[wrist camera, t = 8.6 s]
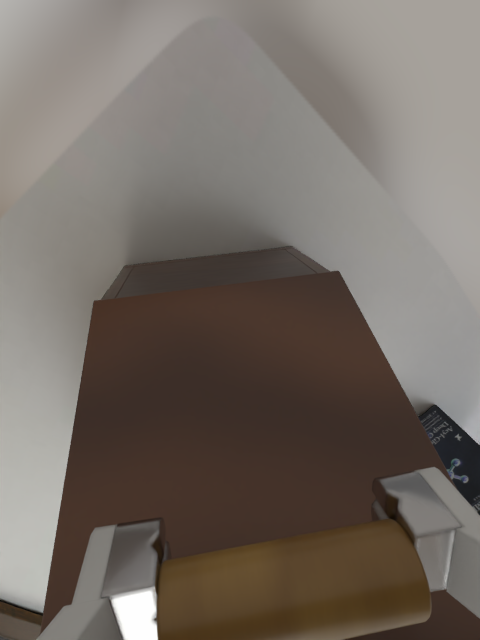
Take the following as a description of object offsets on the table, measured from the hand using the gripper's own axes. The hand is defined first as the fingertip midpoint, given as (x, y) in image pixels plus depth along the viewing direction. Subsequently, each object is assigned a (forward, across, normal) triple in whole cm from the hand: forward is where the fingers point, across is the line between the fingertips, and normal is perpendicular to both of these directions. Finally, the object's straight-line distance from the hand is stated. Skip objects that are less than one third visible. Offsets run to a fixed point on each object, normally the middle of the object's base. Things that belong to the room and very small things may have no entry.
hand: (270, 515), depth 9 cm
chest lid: (+5, 0, +2) cm, 5 cm away
